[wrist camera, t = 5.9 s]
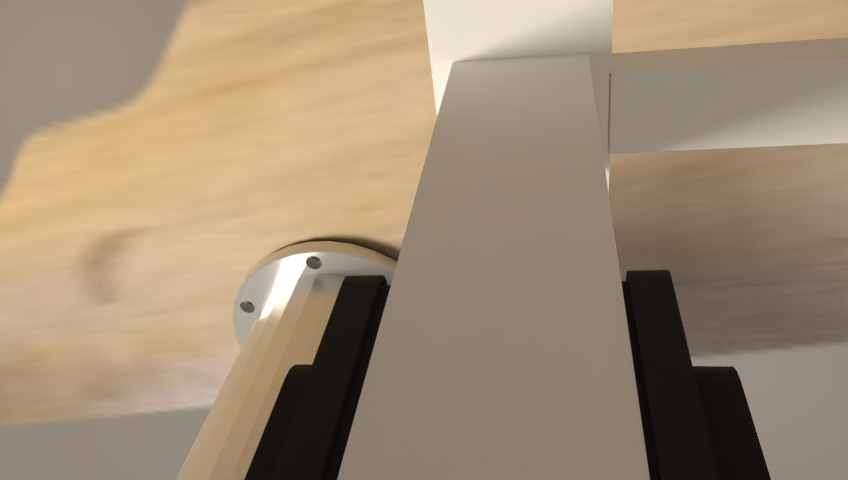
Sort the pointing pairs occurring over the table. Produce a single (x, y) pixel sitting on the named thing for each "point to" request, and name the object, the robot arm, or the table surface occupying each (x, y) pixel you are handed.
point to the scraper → (549, 234)
